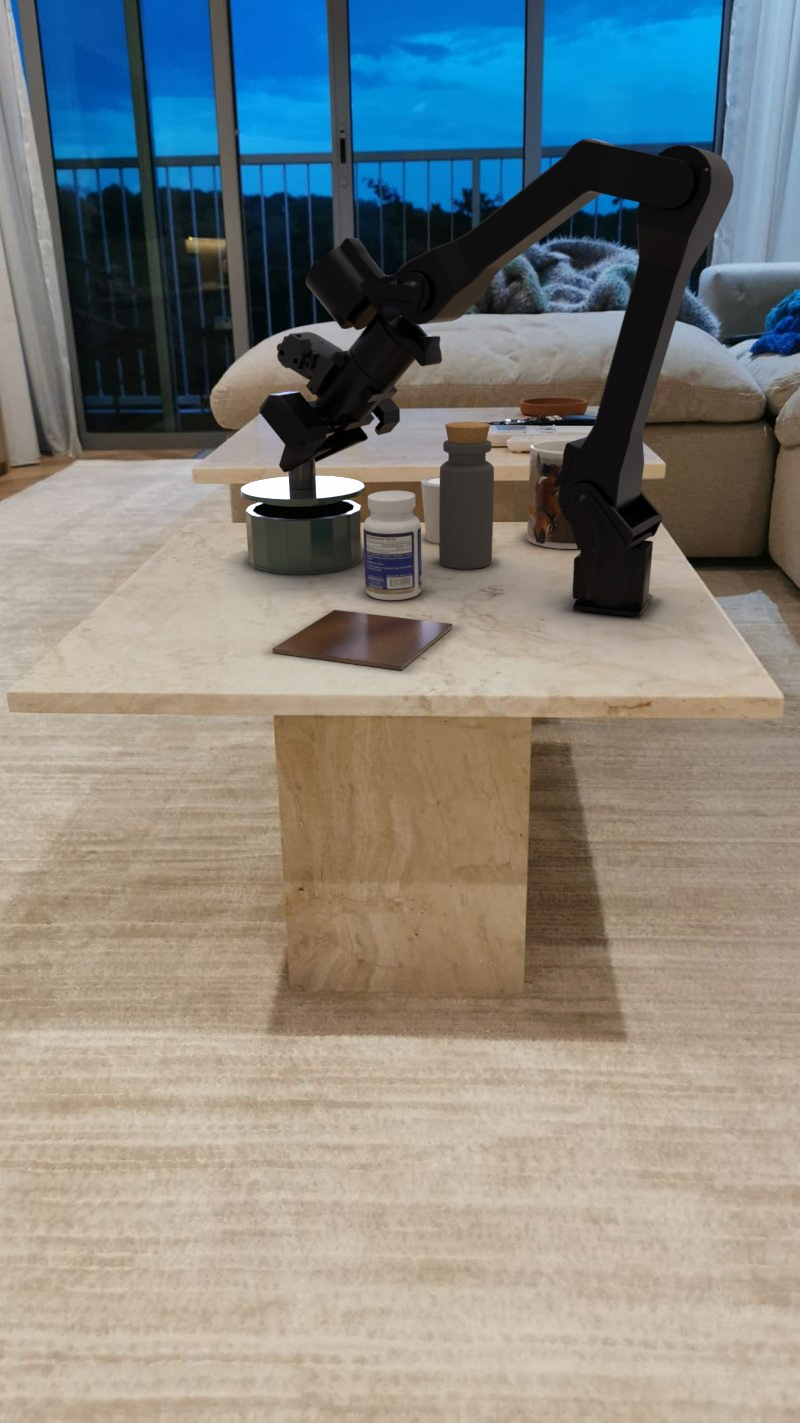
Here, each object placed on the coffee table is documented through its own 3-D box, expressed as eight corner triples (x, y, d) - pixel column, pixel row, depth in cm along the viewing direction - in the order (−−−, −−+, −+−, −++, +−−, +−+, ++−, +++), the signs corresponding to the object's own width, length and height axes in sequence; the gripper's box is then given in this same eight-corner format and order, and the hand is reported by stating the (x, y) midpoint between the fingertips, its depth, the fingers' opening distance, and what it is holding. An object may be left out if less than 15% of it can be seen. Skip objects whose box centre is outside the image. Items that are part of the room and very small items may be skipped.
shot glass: (474, 531, 133) (475, 474, 130) (481, 544, 127) (482, 485, 124) (418, 532, 133) (418, 475, 130) (423, 546, 126) (423, 486, 124)
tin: (379, 551, 124) (378, 501, 122) (331, 579, 113) (329, 524, 111) (283, 542, 129) (281, 493, 126) (228, 568, 118) (224, 515, 116)
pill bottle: (384, 582, 112) (382, 487, 108) (432, 590, 109) (432, 492, 105) (354, 596, 107) (351, 497, 104) (403, 604, 105) (402, 502, 101)
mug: (593, 527, 134) (599, 437, 130) (637, 550, 123) (645, 452, 119) (514, 533, 132) (517, 441, 127) (552, 557, 121) (557, 457, 117)
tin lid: (384, 490, 122) (383, 425, 119) (330, 514, 110) (328, 442, 107) (279, 483, 127) (275, 420, 124) (217, 505, 115) (211, 437, 112)
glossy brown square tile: (452, 627, 98) (452, 623, 98) (401, 670, 88) (401, 666, 87) (334, 613, 102) (334, 609, 102) (272, 652, 92) (272, 648, 92)
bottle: (493, 569, 116) (496, 427, 111) (439, 569, 117) (440, 428, 111) (490, 555, 122) (493, 420, 116) (438, 556, 122) (439, 420, 116)
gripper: (374, 300, 116) (297, 401, 126) (268, 307, 101) (190, 420, 111) (438, 379, 115) (355, 474, 125) (341, 397, 101) (255, 503, 110)
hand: (291, 466), depth 118 cm, fingers closed on tin lid, 3 cm apart
